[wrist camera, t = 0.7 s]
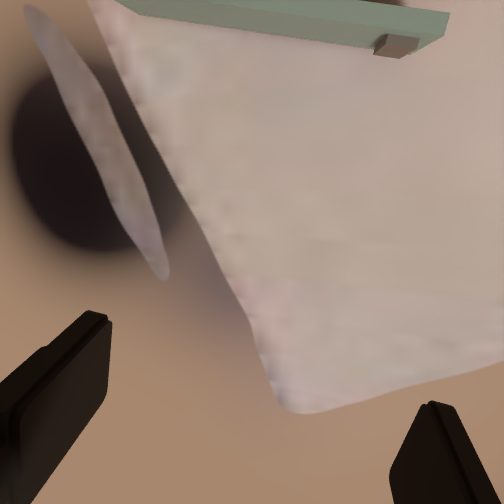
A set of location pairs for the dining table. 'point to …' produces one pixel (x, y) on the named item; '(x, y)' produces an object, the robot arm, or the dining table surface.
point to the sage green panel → (312, 20)
